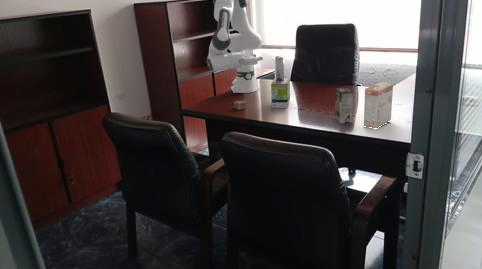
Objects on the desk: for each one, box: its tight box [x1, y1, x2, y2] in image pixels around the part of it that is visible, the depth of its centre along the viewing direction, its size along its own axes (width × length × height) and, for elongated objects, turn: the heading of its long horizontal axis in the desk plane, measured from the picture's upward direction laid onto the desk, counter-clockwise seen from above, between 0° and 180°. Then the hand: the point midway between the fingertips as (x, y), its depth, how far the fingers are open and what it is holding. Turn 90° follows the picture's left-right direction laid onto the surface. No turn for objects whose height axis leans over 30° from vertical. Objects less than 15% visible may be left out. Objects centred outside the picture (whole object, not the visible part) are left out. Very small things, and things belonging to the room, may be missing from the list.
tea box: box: [270, 77, 291, 109], centre depth 239 cm, size 15×10×15 cm, turn 169°
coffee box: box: [334, 87, 354, 124], centre depth 204 cm, size 9×6×16 cm
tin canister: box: [274, 55, 285, 81], centre depth 234 cm, size 5×5×14 cm
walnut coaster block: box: [233, 100, 247, 111], centre depth 239 cm, size 5×5×4 cm
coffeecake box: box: [363, 81, 394, 129], centre depth 194 cm, size 15×7×20 cm, turn 133°
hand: (258, 56), depth 227 cm, fingers open, 8 cm apart
